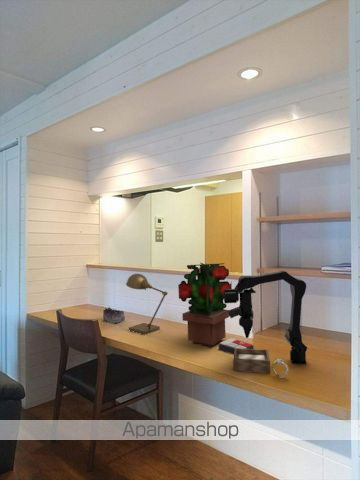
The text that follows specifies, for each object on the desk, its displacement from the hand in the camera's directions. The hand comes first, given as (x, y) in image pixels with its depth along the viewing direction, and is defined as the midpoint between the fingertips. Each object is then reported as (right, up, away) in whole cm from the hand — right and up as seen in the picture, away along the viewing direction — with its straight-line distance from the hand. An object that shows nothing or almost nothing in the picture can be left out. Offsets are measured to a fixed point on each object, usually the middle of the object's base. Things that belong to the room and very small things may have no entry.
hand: (247, 334), depth 158 cm
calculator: (-2, -14, +18) cm, 22 cm away
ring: (+11, -14, -17) cm, 24 cm away
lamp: (-53, -14, +55) cm, 78 cm away
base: (+1, -14, -3) cm, 14 cm away
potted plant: (-17, -14, +31) cm, 38 cm away
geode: (-82, -15, +84) cm, 119 cm away
